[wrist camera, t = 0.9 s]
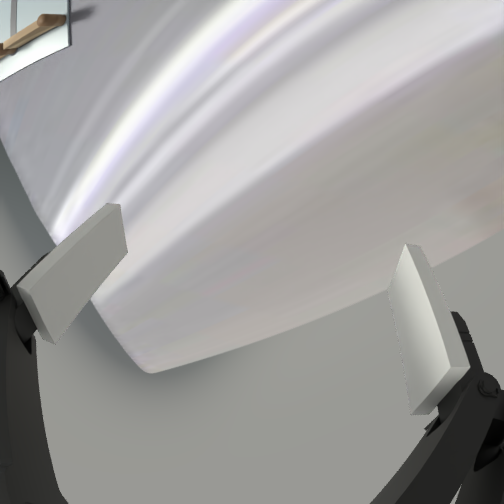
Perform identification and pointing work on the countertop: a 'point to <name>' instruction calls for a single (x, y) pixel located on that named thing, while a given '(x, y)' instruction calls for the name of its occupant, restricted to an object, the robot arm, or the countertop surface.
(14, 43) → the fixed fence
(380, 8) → the countertop surface
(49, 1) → the card
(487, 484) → the robot arm
